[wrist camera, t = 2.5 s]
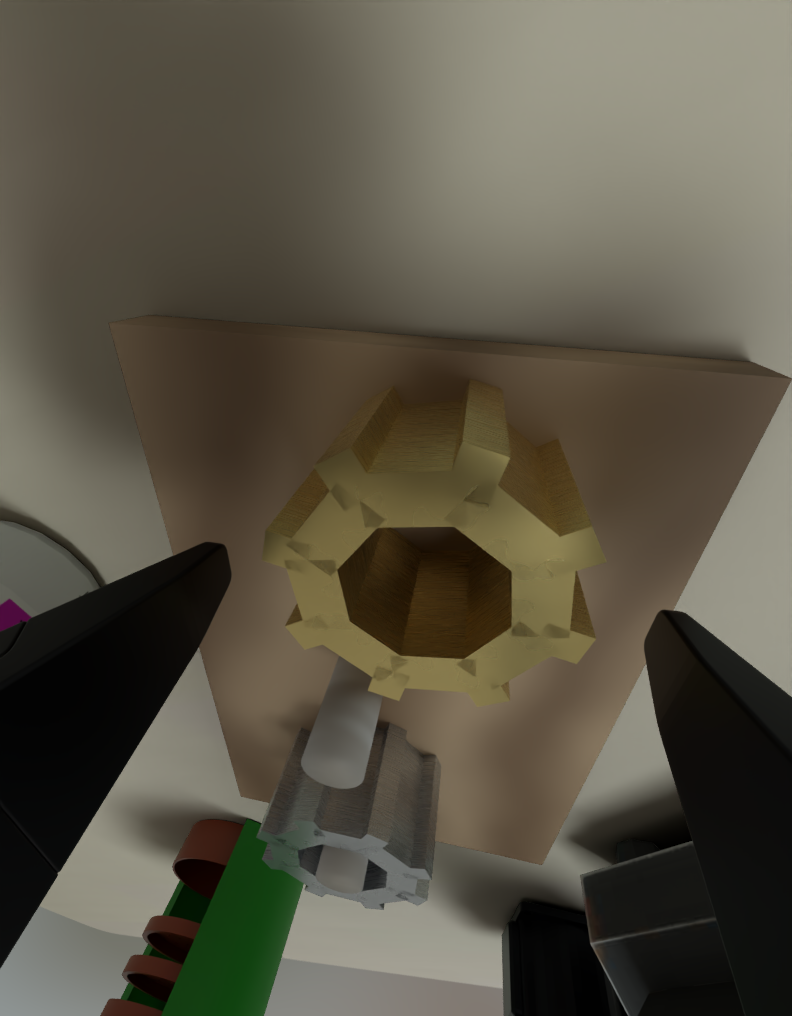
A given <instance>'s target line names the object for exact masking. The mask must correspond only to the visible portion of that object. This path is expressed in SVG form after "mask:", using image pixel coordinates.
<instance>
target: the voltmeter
mask: <svg viewBox="0 0 792 1016" xmlns="http://www.w3.org/2000/svg"><path fill="white" fill-rule="evenodd" d="M616 856H617V864H615V865H612V866H608V867H605V868H602V869H599V870H595V871H592V872H589V873H586V874H582V875H580V878H581V885H582V891H583V898H584V905H585V911H586V918H587V925H588V931H589V938H590V944H591V946H592V947H593V949H594V951H595V953H596V955H597V957H598V959H599V961H600V963H601V965H602V967H603V969H604V971H605V972H606V974H607V976H608V978H609V980H610V982H611V984H612V986H613V988H614V990H615V992H616V994H617V995H618V997H619V999H620V1001H621V1003H622V1005H623V1007H624V1009H625V1011H626V1013H627V1015H628V1016H745V1014H744V1011H743V1007H742V1004H741V1001H740V997H739V994H738V991H737V987H736V984H735V981H734V977H733V974H732V971H731V968H730V964H729V961H728V958H727V954H726V951H725V948H724V944H723V941H722V938H721V934H720V931H719V928H718V924H717V921H716V918H715V914H714V911H713V908H712V904H711V901H710V898H709V894H708V891H707V888H706V884H705V881H704V878H703V875H702V871H701V868H700V865H699V861H698V858H697V855H696V851H695V848H694V845H693V841H690V842H687V843H684V844H680V845H677V846H674V847H670V848H667V849H664V850H660V849H659V848H658V847H657V846H656V845H654V844H653V843H652V842H646V841H639V840H633V839H630V840H627V841H623V842H620V843H617V849H616Z"/></svg>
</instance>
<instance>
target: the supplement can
mask: <svg viewBox="0 0 792 1016" xmlns="http://www.w3.org/2000/svg"><path fill="white" fill-rule="evenodd" d="M98 588H100V586H99V585H98V583H97V582H96V580H95V579H94V577H93V575H92V574H91V572H90V571H89V570H88V569H87V568H86V567H85V566H84V565H83V564H82V563H80V562H79V561H78V560H77V559H76V558H75V557H74V556H73V555H72V554H71V553H70V552H69V551H68V550H66V549H65V548H63V547H62V546H60V545H59V544H57V543H56V542H54V541H53V540H51V539H50V538H48V537H47V536H45V535H44V534H42V533H40V532H37V531H35V530H32V529H30V528H27V527H24V526H22V525H19V524H17V523H14V522H7V521H0V631H2V630H5V629H7V628H9V627H11V626H14V625H16V624H18V623H20V622H23V621H26V622H27V621H28V620H29V619H30V618H32V617H34V616H37V615H39V614H41V613H44V612H46V611H48V610H50V609H53V608H55V607H57V606H60V605H62V604H64V603H66V602H69V601H71V600H73V599H76V598H78V597H80V596H82V595H85V594H87V593H89V592H92V591H94V590H96V589H98Z"/></svg>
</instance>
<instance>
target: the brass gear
mask: <svg viewBox="0 0 792 1016" xmlns="http://www.w3.org/2000/svg"><path fill="white" fill-rule="evenodd" d="M313 467H314V469H313V471H312V472H311V473H310V475H309V476H308V477H307V478H306V480H305V481H304V482H303V483H302V485H301V486H300V487H299V488H298V490H297V491H296V492H295V494H294V495H293V496H292V497H291V499H290V500H289V501H288V502H287V504H286V505H285V506H284V508H283V509H282V510H281V511H280V513H279V514H278V515H277V516H276V518H275V519H274V520H273V521H272V523H271V524H270V525H269V527H268V528H267V529H266V531H265V539H264V547H263V555H262V561H265V562H268V563H271V564H274V565H277V566H280V567H283V568H286V569H287V572H288V575H289V578H290V582H291V585H292V588H293V591H294V594H295V597H296V601H297V604H296V606H295V608H294V610H293V612H292V614H291V615H290V617H289V619H288V621H287V623H286V625H285V627H286V628H287V630H288V631H289V632H290V633H291V634H292V635H293V637H294V638H295V639H296V640H297V641H298V643H299V644H300V645H301V646H302V647H303V648H304V650H306V649H309V648H313V647H316V646H320V645H324V646H326V647H327V648H329V649H330V650H332V651H333V652H335V653H336V654H338V655H339V656H341V657H342V658H344V659H345V660H347V661H348V662H350V663H351V664H353V665H354V666H356V667H357V668H359V669H361V670H362V671H364V672H365V673H367V674H368V675H370V676H371V680H370V684H369V688H368V691H370V692H373V693H376V694H379V695H382V696H385V697H388V698H391V699H394V700H397V701H399V700H400V698H401V696H402V694H403V691H404V689H405V688H409V689H423V690H438V691H452V692H467V693H468V694H469V696H470V697H471V699H472V700H473V702H474V703H475V705H476V706H477V707H480V706H486V705H491V704H496V703H502V702H507V701H510V692H509V681H510V680H511V679H513V678H515V677H516V676H518V675H520V674H522V673H523V672H525V671H527V670H528V669H530V668H532V667H534V666H535V665H537V664H539V663H540V662H542V661H544V660H546V659H547V658H549V657H551V656H553V657H556V658H559V659H562V660H565V661H568V662H572V663H575V664H577V663H578V662H579V660H580V659H581V658H582V657H583V655H584V654H585V653H586V651H587V650H588V649H589V648H590V646H591V645H592V644H593V643H594V641H595V640H596V636H595V633H594V629H593V626H592V622H591V619H590V615H589V612H588V608H587V605H586V601H585V598H584V594H583V591H582V587H581V583H580V580H579V576H578V573H577V571H578V570H581V569H585V568H588V567H592V566H595V565H599V564H602V563H606V562H607V561H606V559H605V556H604V553H603V551H602V548H601V546H600V543H599V541H598V538H597V535H596V533H595V530H594V528H593V525H592V523H591V520H590V517H589V515H588V512H587V510H586V507H585V505H584V502H583V499H582V497H581V494H580V492H579V489H578V487H577V484H576V481H575V479H574V476H573V474H572V471H571V468H570V466H569V463H568V461H567V459H566V456H565V454H564V451H563V449H562V447H561V444H560V442H559V439H555V440H553V441H550V442H548V443H546V444H543V445H541V446H538V447H536V446H535V445H534V444H532V443H531V442H530V441H529V440H528V439H527V438H526V437H524V436H523V435H522V434H521V433H520V432H519V431H517V430H516V429H515V428H514V427H513V426H512V425H511V424H509V423H508V422H507V421H506V416H505V407H504V399H503V390H502V389H500V388H497V387H494V386H491V385H488V384H485V383H482V382H479V381H476V380H473V379H470V381H469V383H468V386H467V389H466V392H465V394H464V397H463V400H455V401H442V402H429V403H415V404H404V403H403V402H402V400H401V398H400V396H399V394H398V393H397V391H396V389H395V387H394V385H393V386H391V387H389V388H388V389H386V390H384V391H382V392H380V393H378V394H376V395H375V396H373V397H371V398H369V399H367V400H366V401H365V403H364V404H363V405H362V406H361V408H360V409H359V410H358V411H357V413H356V414H355V415H354V416H353V418H352V419H351V420H350V421H349V423H348V424H347V425H346V426H345V428H344V429H343V430H342V431H341V433H340V434H339V435H338V436H337V438H336V439H335V440H334V441H333V443H332V444H331V445H330V446H329V448H328V449H327V450H326V451H325V453H324V454H323V455H322V456H321V458H320V459H319V460H318V461H317V463H316V464H315V465H314V466H313ZM392 527H455V528H456V529H458V530H459V531H460V532H462V533H463V534H464V535H465V536H467V537H468V538H469V539H471V540H472V541H473V542H474V543H476V544H477V545H476V546H475V547H473V548H472V549H471V550H470V551H422V550H421V549H420V548H418V547H417V546H416V545H414V544H413V543H412V542H410V541H409V540H408V539H406V538H405V537H404V536H402V535H401V534H400V533H398V532H397V531H396V530H394V529H393V528H392Z"/></svg>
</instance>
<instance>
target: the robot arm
mask: <svg viewBox="0 0 792 1016" xmlns="http://www.w3.org/2000/svg"><path fill="white" fill-rule="evenodd" d="M231 578H232V571H231V566H230V561H229V556H228V551H227V548H226V546H225V545H224V544H221V543H215V542H204V543H201V544H199V545H197V546H194V547H192V548H190V549H188V550H185V551H183V552H181V553H178V554H176V555H174V556H172V557H169V558H167V559H165V560H162V561H160V562H158V563H156V564H153V565H151V566H149V567H146V568H144V569H142V570H140V571H137V572H135V573H133V574H130V575H128V576H126V577H124V578H121V579H119V580H117V581H114V582H112V583H110V584H108V585H105V586H103V587H101V588H98V589H96V590H94V591H92V592H89V593H87V594H85V595H82V596H80V597H78V598H76V599H73V600H71V601H69V602H66V603H64V604H62V605H60V606H57V607H55V608H53V609H50V610H48V611H46V612H44V613H41V614H39V615H37V616H34V617H32V618H30V619H29V620H28V621H27V622H26V621H23V622H20V623H18V624H16V625H14V626H11V627H9V628H7V629H5V630H2V631H0V968H1V967H2V965H3V963H4V961H5V960H6V959H7V957H8V955H9V954H10V952H11V950H12V948H13V947H14V946H15V944H16V942H17V941H18V939H19V938H20V936H21V934H22V932H23V931H24V929H25V928H26V926H27V925H28V923H29V921H30V920H31V918H32V916H33V915H34V913H35V912H36V910H37V908H38V907H39V905H40V904H41V902H42V900H43V899H44V897H45V896H46V894H47V892H48V891H49V889H50V887H51V886H52V884H53V883H54V881H55V879H56V878H57V876H58V872H60V871H61V869H62V867H63V866H64V864H65V863H66V861H67V859H68V858H69V856H70V855H71V853H72V851H73V850H74V848H75V846H76V845H77V843H78V842H79V840H80V838H81V837H82V835H83V833H84V832H85V830H86V829H87V827H88V825H89V824H90V822H91V821H92V819H93V817H94V816H95V814H96V812H97V811H98V809H99V808H100V806H101V804H102V803H103V801H104V800H105V798H106V796H107V795H108V793H109V791H110V790H111V788H112V787H113V785H114V783H115V782H116V780H117V779H118V777H119V775H120V774H121V772H122V770H123V769H124V767H125V766H126V764H127V762H128V761H129V759H130V758H131V756H132V754H133V753H134V751H135V749H136V748H137V746H138V745H139V743H140V741H141V740H142V738H143V737H144V735H145V733H146V732H147V730H148V728H149V727H150V725H151V724H152V722H153V720H154V719H155V717H156V716H157V714H158V712H159V711H160V709H161V707H162V706H163V704H164V703H165V701H166V699H167V698H168V696H169V695H170V693H171V691H172V690H173V688H174V686H175V685H176V683H177V682H178V680H179V678H180V677H181V675H182V673H183V672H184V670H185V669H186V667H187V665H188V664H189V662H190V661H191V659H192V657H193V656H194V654H195V652H196V651H197V649H198V647H199V646H200V644H201V642H202V640H203V638H204V636H205V635H206V633H207V631H208V628H209V626H210V624H211V622H212V620H213V618H214V616H215V614H216V612H217V610H218V608H219V606H220V603H221V601H222V599H223V597H224V595H225V593H226V591H227V589H228V587H229V585H230V582H231ZM644 653H645V659H646V664H647V670H648V675H649V681H650V686H651V692H652V697H653V703H654V709H655V714H656V719H657V723H658V727H659V731H660V735H661V738H662V742H663V745H664V748H665V752H666V755H667V758H668V762H669V765H670V768H671V772H672V775H673V778H674V782H675V785H676V788H677V791H678V795H679V798H680V801H681V805H682V808H683V811H684V815H685V818H686V821H687V825H688V828H689V831H690V835H691V838H692V841H693V845H694V848H695V851H696V855H697V858H698V861H699V865H700V868H701V871H702V875H703V878H704V881H705V884H706V888H707V891H708V894H709V898H710V901H711V904H712V908H713V911H714V914H715V918H716V921H717V924H718V928H719V931H720V934H721V938H722V941H723V944H724V948H725V951H726V954H727V958H728V961H729V964H730V968H731V971H732V974H733V977H734V981H735V984H736V987H737V991H738V994H739V997H740V1001H741V1004H742V1007H743V1011H744V1014H745V1016H792V697H791V696H790V695H788V694H787V693H786V692H785V691H783V690H782V689H781V688H780V687H778V686H777V685H776V684H775V683H773V682H772V681H771V680H770V679H768V678H767V677H766V676H764V675H763V674H762V673H761V672H759V671H758V670H757V669H756V668H754V667H753V666H752V665H751V664H749V663H748V662H747V661H746V660H744V659H743V658H742V657H741V656H739V655H738V654H737V653H735V652H734V651H733V650H732V649H730V648H729V647H728V646H727V645H725V644H724V643H723V642H722V641H720V640H719V639H718V638H717V637H715V636H714V635H713V634H712V633H710V632H709V631H708V630H706V629H705V628H704V627H703V626H701V625H700V624H699V623H698V622H696V621H695V620H694V619H693V618H691V617H690V616H689V615H687V614H686V613H684V612H679V611H673V610H666V609H664V610H660V611H659V612H658V613H657V615H656V617H655V619H654V621H653V623H652V625H651V627H650V629H649V631H648V633H647V635H646V638H645V641H644ZM502 964H503V1005H504V1016H628V1015H627V1013H626V1011H625V1009H624V1007H623V1005H622V1003H621V1001H620V999H619V997H618V995H617V994H616V992H615V990H614V988H613V986H612V984H611V982H610V980H609V978H608V976H607V974H606V972H605V971H604V969H603V967H602V965H601V963H600V961H599V959H598V957H597V955H596V953H595V951H594V949H593V947H592V946H591V944H590V938H589V931H588V925H587V918H586V916H584V915H580V914H576V913H571V912H567V911H563V910H559V909H555V908H551V907H546V906H542V905H538V904H534V903H530V902H521V903H520V904H519V906H518V908H517V910H516V912H515V914H514V916H513V918H512V920H511V921H510V922H509V923H508V924H507V926H506V928H505V930H504V932H503V934H502Z"/></svg>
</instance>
